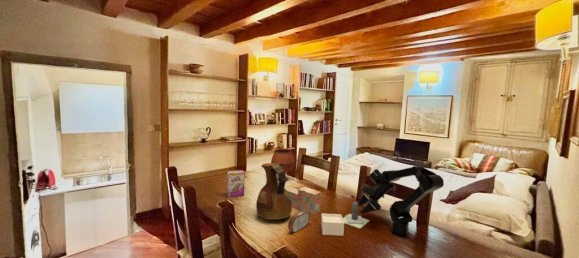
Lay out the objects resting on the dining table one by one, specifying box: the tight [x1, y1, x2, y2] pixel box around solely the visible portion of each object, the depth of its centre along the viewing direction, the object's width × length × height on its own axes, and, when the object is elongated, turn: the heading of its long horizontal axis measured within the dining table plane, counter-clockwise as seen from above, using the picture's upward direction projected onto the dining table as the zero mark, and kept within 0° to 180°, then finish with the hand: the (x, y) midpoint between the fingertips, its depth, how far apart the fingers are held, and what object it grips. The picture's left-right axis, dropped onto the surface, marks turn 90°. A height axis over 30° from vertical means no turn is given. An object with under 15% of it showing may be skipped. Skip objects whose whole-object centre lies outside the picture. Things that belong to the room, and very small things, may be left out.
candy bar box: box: [226, 170, 246, 198], centre depth 172 cm, size 11×5×16 cm, turn 108°
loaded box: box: [320, 213, 345, 237], centre depth 128 cm, size 10×10×6 cm
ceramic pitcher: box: [255, 162, 293, 220], centre depth 141 cm, size 20×20×30 cm
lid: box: [345, 201, 364, 225], centre depth 138 cm, size 8×8×10 cm
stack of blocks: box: [286, 186, 322, 216], centre depth 154 cm, size 21×6×12 cm, turn 49°
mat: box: [342, 213, 370, 229], centre depth 139 cm, size 12×12×1 cm
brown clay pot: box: [270, 148, 296, 182], centre depth 210 cm, size 19×19×25 cm
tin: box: [287, 210, 310, 233], centre depth 128 cm, size 15×3×8 cm, turn 141°
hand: (359, 209), depth 138 cm, fingers open, 9 cm apart
